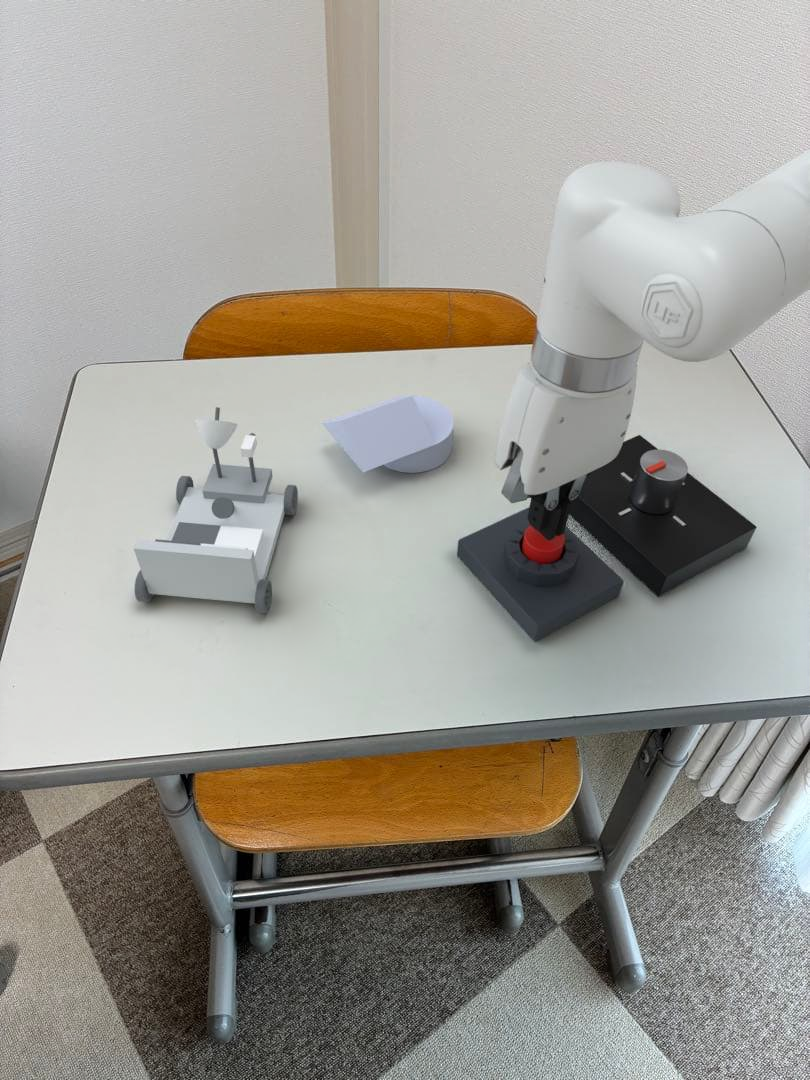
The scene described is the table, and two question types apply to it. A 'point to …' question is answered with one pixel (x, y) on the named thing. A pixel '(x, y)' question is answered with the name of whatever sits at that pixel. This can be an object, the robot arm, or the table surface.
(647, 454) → the burner knob
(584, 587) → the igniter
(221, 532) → the toy car
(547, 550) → the button
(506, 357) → the table surface
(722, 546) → the stove panel
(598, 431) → the robot arm
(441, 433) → the wedge on round base
